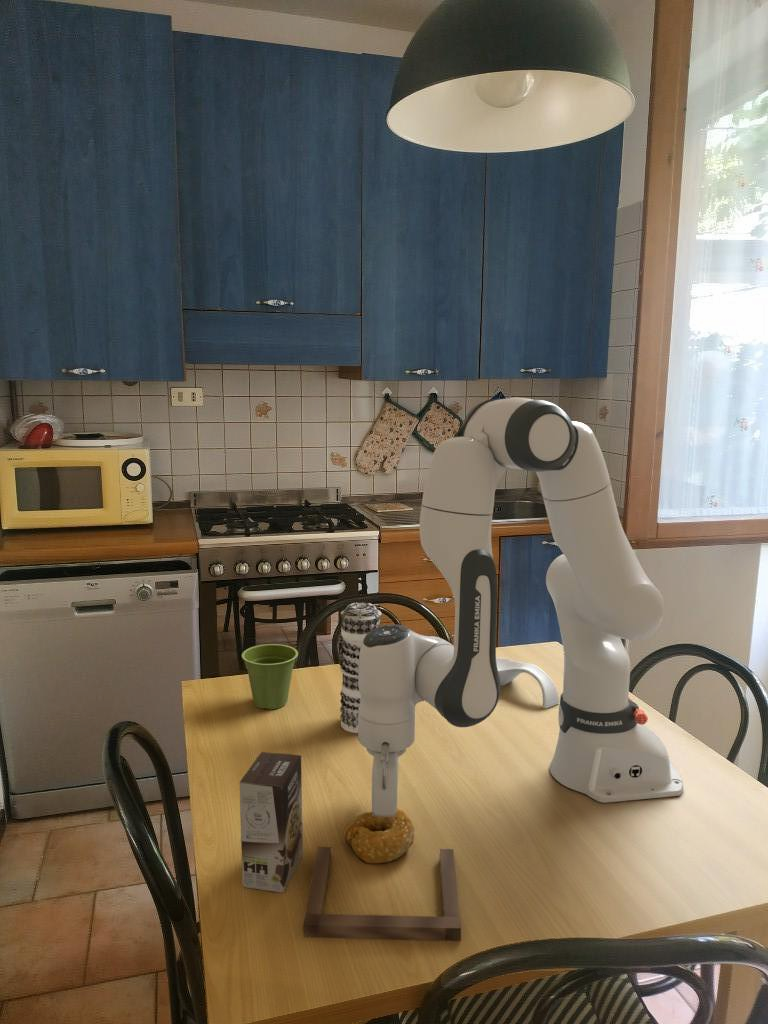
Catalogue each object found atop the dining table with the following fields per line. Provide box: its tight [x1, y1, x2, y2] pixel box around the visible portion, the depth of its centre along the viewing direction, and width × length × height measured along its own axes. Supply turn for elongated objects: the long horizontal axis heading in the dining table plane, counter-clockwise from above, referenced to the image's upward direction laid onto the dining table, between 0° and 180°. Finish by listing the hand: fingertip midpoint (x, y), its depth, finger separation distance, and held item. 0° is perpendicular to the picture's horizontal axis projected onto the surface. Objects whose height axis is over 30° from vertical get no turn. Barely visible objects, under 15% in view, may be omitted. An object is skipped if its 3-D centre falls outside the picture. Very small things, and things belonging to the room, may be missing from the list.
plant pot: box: [241, 643, 299, 710], centre depth 163 cm, size 12×12×11 cm
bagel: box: [343, 808, 415, 864], centre depth 115 cm, size 10×11×5 cm
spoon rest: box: [496, 656, 560, 709], centre depth 172 cm, size 24×12×7 cm, turn 38°
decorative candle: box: [337, 601, 383, 734], centre depth 153 cm, size 9×9×25 cm
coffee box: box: [238, 751, 304, 894], centre depth 109 cm, size 9×6×16 cm
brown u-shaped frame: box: [302, 846, 462, 941], centre depth 105 cm, size 20×16×2 cm
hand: (386, 809), depth 122 cm, fingers closed
